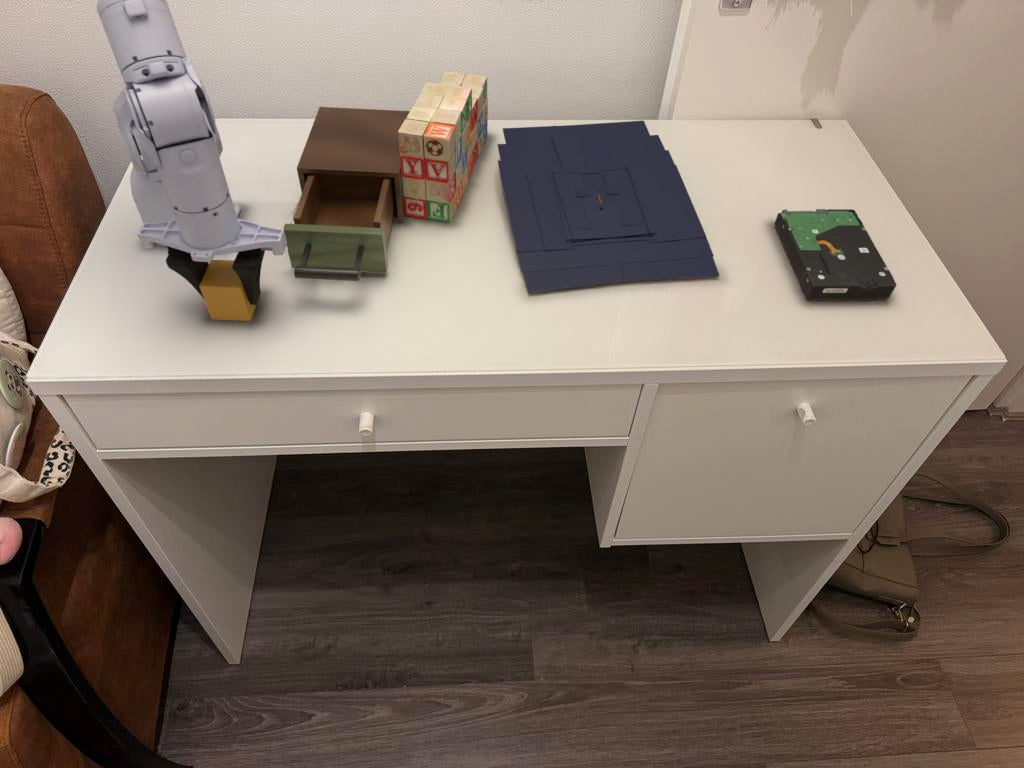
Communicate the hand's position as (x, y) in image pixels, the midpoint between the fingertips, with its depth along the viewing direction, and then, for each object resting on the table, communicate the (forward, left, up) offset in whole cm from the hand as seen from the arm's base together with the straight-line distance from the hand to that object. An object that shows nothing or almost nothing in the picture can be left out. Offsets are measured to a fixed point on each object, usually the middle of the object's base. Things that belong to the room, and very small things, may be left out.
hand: (233, 297), depth 84 cm
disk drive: (+71, +13, -2) cm, 72 cm away
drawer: (+11, +10, -1) cm, 15 cm away
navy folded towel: (+42, +21, -2) cm, 47 cm away
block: (0, 0, -1) cm, 1 cm away
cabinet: (+11, +24, -1) cm, 26 cm away
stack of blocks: (+22, +28, -2) cm, 36 cm away
